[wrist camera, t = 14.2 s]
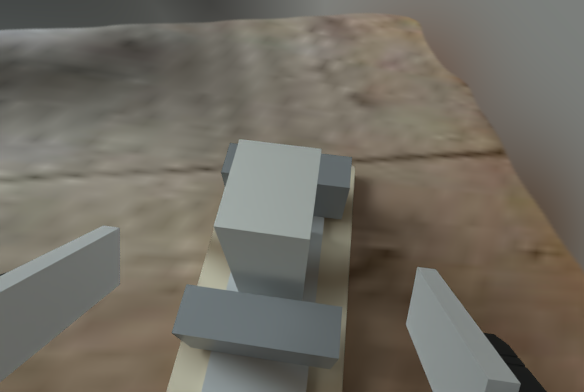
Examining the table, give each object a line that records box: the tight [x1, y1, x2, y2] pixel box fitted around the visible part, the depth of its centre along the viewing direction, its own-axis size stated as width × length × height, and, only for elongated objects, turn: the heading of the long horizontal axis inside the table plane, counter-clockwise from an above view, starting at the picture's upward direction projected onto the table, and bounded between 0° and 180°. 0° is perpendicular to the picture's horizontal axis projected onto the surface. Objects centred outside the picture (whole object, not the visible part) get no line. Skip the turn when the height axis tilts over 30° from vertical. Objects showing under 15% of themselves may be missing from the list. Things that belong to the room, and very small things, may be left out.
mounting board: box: [167, 166, 355, 392], centre depth 30 cm, size 22×12×2 cm, turn 172°
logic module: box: [214, 139, 322, 301], centre depth 24 cm, size 6×5×11 cm
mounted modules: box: [172, 143, 352, 369], centre depth 27 cm, size 15×10×5 cm, turn 172°
